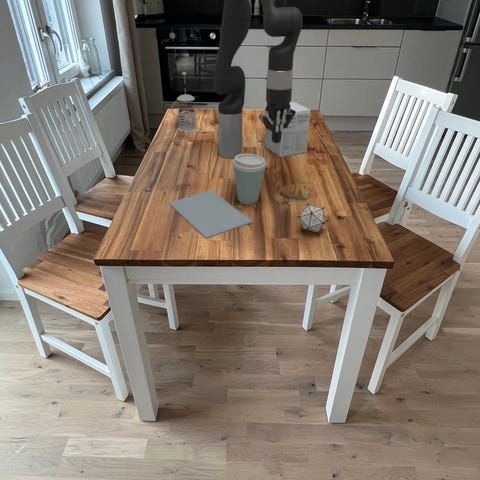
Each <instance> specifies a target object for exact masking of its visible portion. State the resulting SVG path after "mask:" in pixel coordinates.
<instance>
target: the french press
mask: <svg viewBox="0 0 480 480" xmlns="http://www.w3.org/2000/svg"><path fill="white" fill-rule="evenodd" d="M181 75H183V79H184V80H183V81H184V83H186V77H185V76H186V75H187V72H186V71H183V72H182V73H181ZM186 91H187V90H186V89H184V94H180V95H179V96H178V97H177V98H176V100H175V101H174V102H173V103H172V105H171V113H172V115H173V116H174V117H175V118H176V119H178V120H177V121H178V126H177V128H178V130H177V131H179V132H182V131H184V133H191V131H192V132H195V130H196V131H197V130H198V129H199V127H198V126H197V124H196V123H197V122H196V119H197V118H196V110H195V106H194V105H191V104H190V105H189V104H185V105H183V104H182V105H180V106H178V112H177V113H178V114H177V115H176V113H174V110H173V109H174V108H173V107H174V105H175V104H176V105H179V102H182V103H188V102H193V101H195V97H194V96H192V95H191V94H186ZM197 128H198V129H197Z"/></svg>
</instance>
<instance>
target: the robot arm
mask: <svg viewBox="0 0 480 480" xmlns="http://www.w3.org/2000/svg"><path fill="white" fill-rule="evenodd" d="M259 1H260V4H261V7H262V16H263V17H262V20H263V23H262V27H263V30H264V32H265V34H266V35H268V36H269V37H270V38H271V37H272V38H278V37H279V38H283V37H284V38H283V40H282V42H280V43H278V44H277V45H273V46H271V47H269V49H268V58H267V73H266V90H265V102H266V105H267V106H266V105H265V111H264V113H263V114H259V116H258V118H259V120H260V121H261V123H262V124H263V125H264V127H266V128H267V129H268V130H271V131H272V141H273V142H274V143H280V141H281V137H282V130H283V129H284V128H287V127H288V125H289V123H290V122H291V120H292V118H293V117H294V115H295V113H296V111H295V110H292V109H291V108H290V102H292V96H293V92H292V91H293V82H294V81H293V79H294V75H293V74H294V73H293V70H294V69H293V68H294V54H295V52H296V47H297V44H298V40H299V39H300V34H301V32H302V28H303V24H304V23H303V20H304V19H303V15H302V12H301V10H300V9H299V8H298V7H295V6H287V3H288V2H287V1H288V0H259ZM223 3H224V4H223V10H222V19H221V26H220V27H221V29H220V37H219V45H218V51H217V55H216V60H215V66H214V70H213V77H212V86H213V90H214V91H215V93H216V94H218V95H220V96H224V95H225V96H226V97H225V98H224V99H223V100H222V101H220V102H219V103H218V106H217V107H218V108H217V109H218V110H217V112H218V113H217V115H218V129H217V147H218V148H217V149H218V154H219V156H220V157H223V158H224V159H226V158H227V159H235V156H237V155H239V154H243V152H242V151H243V108H244V104H245V96H246V95H245V94H246V75H245V72H244V69H243V68H242V67H241V66H239V65H232V63H233V60H234V58H235V56H236V53H237V52H238V50H239V49H240V47H241V46H242V44H243V43H244V41H245V39H247V38H246V37H247V36H248V33H249V30H250V25H251V18H252V6H251V3H250V0H224V2H223ZM268 116H269V117H268ZM269 118H270V121H269ZM286 120H287V121H286ZM285 122H286V123H285Z"/></svg>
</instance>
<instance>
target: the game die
mask: <svg viewBox="0 0 480 480" xmlns="http://www.w3.org/2000/svg"><path fill="white" fill-rule="evenodd" d="M306 205H307V206H306V207H305V208H304V210H303V211H302V213H301V214H300V215H297V216H296V218H297V219H299V221H300V224H301V227H302V228H301V231H304V230H306V231H310V232H313V233H316V234H317V235H318V236H320V233H319V232H320V230H321V229H322V228H323V226H324V225H325V224H326V223H328V222H330V220H329V219H327V217H326V214H325V211H324V210H325V208H326V206H323V207H318V206H313V205H309V202H306Z"/></svg>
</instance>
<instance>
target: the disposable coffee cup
mask: <svg viewBox="0 0 480 480" xmlns="http://www.w3.org/2000/svg"><path fill="white" fill-rule="evenodd" d="M232 159H233V160H232V167H233V172H234V180H235V187H236V194H237V199H238V201H239V203H241V204H243V205H253V204H256V203H257V202H258V200H259V198H260V197H259V196H260V193H261V188H262V185H263V184H262V183H263V180H264V176H265V169H266V168H267V163H266V162H267V161H266V159H265V158H264V157H263V156H260V155H258V154H254V153H242V154H239V155H237V156H235V158H232Z"/></svg>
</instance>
